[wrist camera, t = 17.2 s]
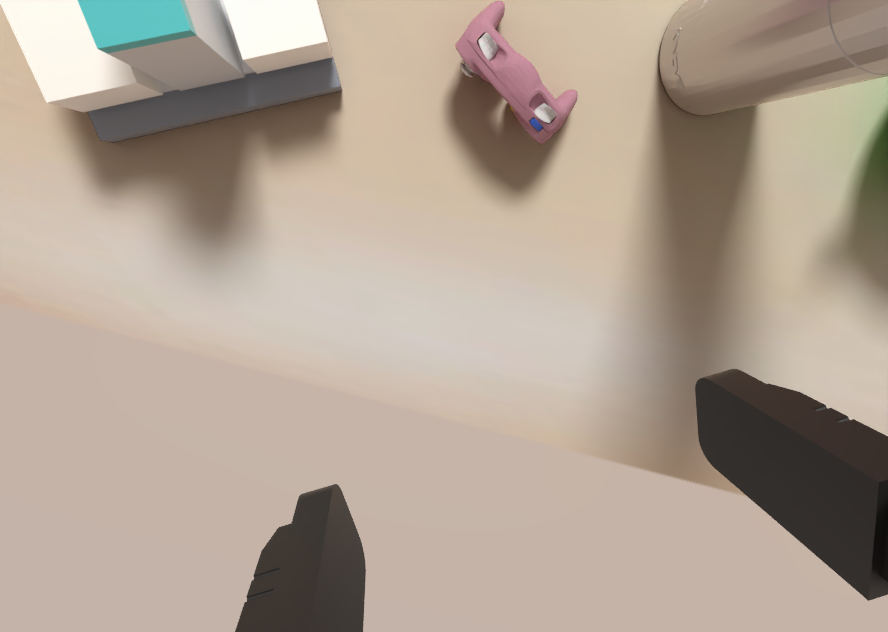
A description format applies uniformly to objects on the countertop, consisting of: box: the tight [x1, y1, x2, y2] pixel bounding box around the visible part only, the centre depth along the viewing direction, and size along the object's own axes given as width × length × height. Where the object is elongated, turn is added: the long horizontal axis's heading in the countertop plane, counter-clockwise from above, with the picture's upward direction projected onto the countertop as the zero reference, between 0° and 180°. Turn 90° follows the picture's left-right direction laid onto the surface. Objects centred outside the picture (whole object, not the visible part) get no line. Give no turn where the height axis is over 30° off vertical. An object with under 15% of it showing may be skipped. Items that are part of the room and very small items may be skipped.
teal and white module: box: [78, 0, 245, 91], centre depth 25 cm, size 4×6×10 cm
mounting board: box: [0, 0, 342, 143], centre depth 29 cm, size 17×9×6 cm, turn 103°
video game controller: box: [455, 1, 577, 144], centre depth 32 cm, size 10×5×7 cm, turn 47°
